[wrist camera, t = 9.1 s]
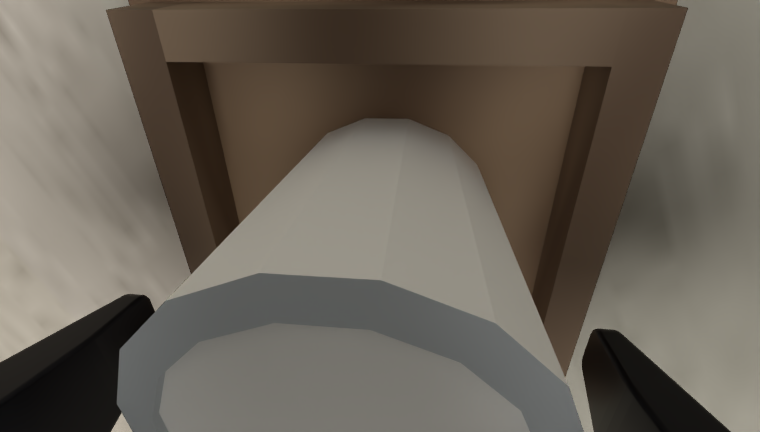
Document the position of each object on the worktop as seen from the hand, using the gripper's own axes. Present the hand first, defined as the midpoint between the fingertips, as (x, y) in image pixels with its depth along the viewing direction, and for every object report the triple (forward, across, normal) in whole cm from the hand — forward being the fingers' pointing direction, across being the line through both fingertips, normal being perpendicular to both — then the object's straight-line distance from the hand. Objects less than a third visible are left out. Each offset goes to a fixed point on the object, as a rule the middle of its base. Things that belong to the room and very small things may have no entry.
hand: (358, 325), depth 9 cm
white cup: (+4, 0, 0) cm, 4 cm away
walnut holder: (+5, 0, 0) cm, 5 cm away
